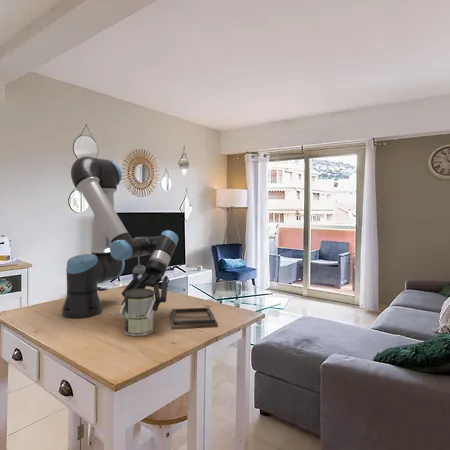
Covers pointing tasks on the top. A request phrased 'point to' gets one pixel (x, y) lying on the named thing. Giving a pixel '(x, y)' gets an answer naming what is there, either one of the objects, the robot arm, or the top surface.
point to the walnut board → (192, 318)
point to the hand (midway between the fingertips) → (134, 316)
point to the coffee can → (138, 312)
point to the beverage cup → (139, 270)
